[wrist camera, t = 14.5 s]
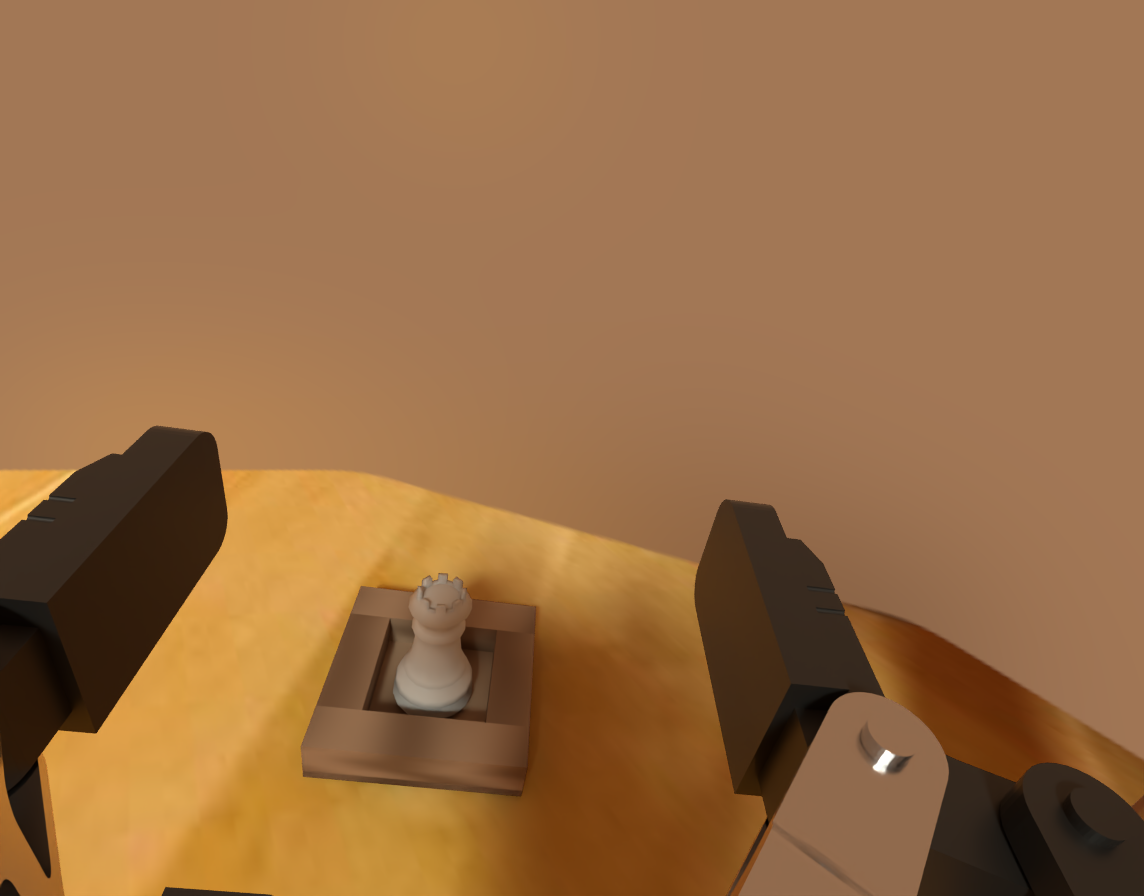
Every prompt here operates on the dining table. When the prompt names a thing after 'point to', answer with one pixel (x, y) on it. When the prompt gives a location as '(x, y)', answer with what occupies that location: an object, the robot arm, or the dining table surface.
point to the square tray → (418, 743)
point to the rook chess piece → (436, 651)
